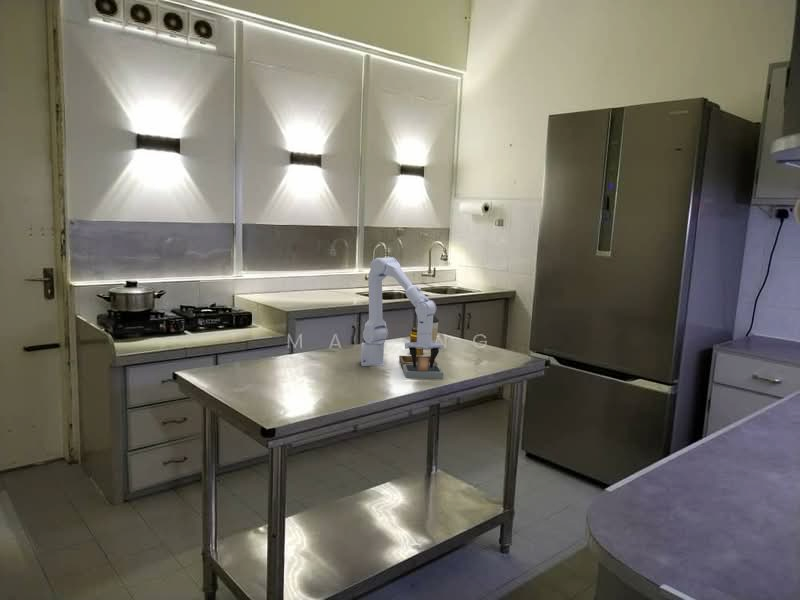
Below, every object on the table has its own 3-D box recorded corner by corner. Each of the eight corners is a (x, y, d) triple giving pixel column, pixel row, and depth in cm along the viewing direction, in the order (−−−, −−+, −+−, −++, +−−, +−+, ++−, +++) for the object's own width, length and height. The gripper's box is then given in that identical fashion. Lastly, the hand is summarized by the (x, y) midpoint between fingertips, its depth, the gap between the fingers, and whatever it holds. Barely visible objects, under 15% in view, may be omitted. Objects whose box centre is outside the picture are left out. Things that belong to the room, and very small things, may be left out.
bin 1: (402, 370, 228) (402, 363, 228) (399, 362, 240) (399, 355, 239) (437, 371, 230) (437, 363, 229) (432, 363, 241) (432, 356, 241)
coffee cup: (437, 349, 266) (439, 317, 264) (418, 349, 266) (420, 317, 263) (436, 345, 275) (438, 314, 273) (417, 344, 275) (419, 313, 272)
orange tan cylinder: (417, 375, 220) (419, 359, 219) (416, 372, 224) (418, 357, 223) (428, 375, 220) (429, 360, 219) (426, 372, 224) (428, 357, 223)
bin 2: (405, 379, 216) (406, 371, 215) (402, 371, 227) (403, 364, 226) (442, 380, 217) (443, 372, 217) (437, 372, 228) (438, 364, 228)
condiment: (406, 355, 252) (407, 329, 250) (412, 351, 260) (413, 325, 258) (422, 358, 250) (423, 330, 248) (427, 353, 257) (429, 327, 256)
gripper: (407, 334, 215) (405, 369, 217) (445, 335, 216) (443, 370, 218) (404, 330, 222) (403, 364, 224) (442, 331, 223) (440, 365, 225)
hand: (422, 367), depth 221 cm, fingers open, 6 cm apart
